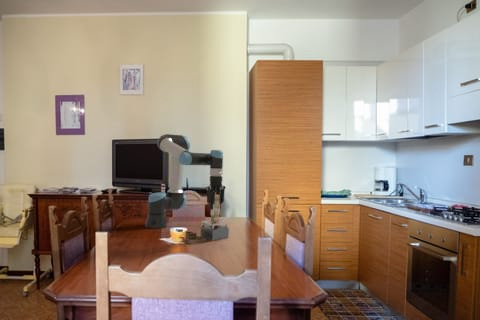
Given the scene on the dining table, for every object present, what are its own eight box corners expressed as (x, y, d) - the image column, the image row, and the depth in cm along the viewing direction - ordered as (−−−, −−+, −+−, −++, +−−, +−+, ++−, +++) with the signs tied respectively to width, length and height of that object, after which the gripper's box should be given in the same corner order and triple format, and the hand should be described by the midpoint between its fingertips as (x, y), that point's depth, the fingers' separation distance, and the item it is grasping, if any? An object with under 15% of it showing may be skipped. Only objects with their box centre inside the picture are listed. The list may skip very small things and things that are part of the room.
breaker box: (200, 237, 189) (200, 221, 189) (216, 235, 196) (216, 219, 197) (212, 242, 180) (212, 224, 180) (228, 239, 188) (228, 222, 188)
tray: (182, 242, 178) (182, 237, 178) (196, 239, 184) (196, 235, 184) (191, 245, 171) (191, 241, 171) (206, 243, 177) (206, 238, 177)
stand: (179, 237, 187) (180, 232, 187) (191, 236, 192) (191, 230, 192) (187, 240, 181) (187, 235, 181) (198, 238, 186) (198, 233, 186)
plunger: (210, 226, 188) (210, 222, 188) (215, 225, 191) (215, 221, 191) (214, 227, 185) (214, 223, 185) (219, 226, 188) (219, 222, 188)
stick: (211, 221, 188) (211, 194, 188) (215, 220, 190) (216, 194, 190) (214, 222, 186) (215, 195, 186) (219, 221, 188) (219, 194, 188)
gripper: (208, 176, 180) (207, 216, 180) (230, 175, 191) (229, 214, 191) (201, 175, 185) (200, 215, 185) (222, 175, 196) (222, 212, 196)
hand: (215, 214), depth 188 cm, fingers closed on stick, 3 cm apart
